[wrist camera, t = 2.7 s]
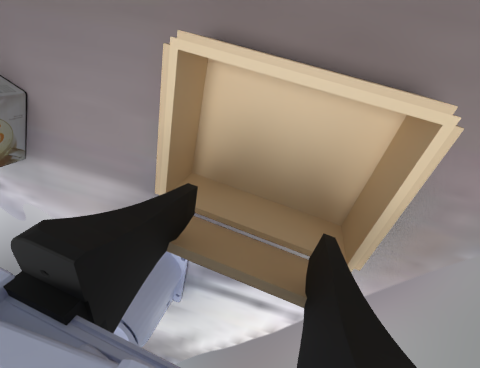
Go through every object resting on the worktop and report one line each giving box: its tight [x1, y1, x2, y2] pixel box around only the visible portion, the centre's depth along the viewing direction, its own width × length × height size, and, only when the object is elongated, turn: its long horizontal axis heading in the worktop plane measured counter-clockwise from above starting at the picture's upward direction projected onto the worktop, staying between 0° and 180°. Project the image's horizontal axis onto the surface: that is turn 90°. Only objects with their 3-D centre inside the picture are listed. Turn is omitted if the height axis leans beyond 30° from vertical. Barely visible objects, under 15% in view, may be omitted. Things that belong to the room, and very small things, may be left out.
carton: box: [155, 30, 464, 272], centre depth 17 cm, size 11×16×5 cm
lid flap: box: [167, 216, 309, 308], centre depth 15 cm, size 6×14×1 cm
